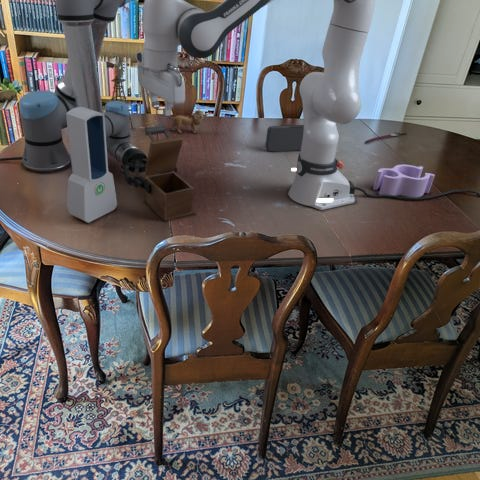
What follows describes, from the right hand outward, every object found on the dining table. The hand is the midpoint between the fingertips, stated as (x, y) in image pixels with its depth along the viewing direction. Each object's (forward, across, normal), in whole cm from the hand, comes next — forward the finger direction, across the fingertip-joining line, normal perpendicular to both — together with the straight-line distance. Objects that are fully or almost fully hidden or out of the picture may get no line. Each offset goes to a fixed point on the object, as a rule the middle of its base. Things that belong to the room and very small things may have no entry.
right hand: (161, 111), depth 130 cm
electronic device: (+28, +2, +21) cm, 35 cm away
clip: (+29, -32, -79) cm, 90 cm away
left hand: (+22, -3, 0) cm, 22 cm away
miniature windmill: (+28, +60, -14) cm, 68 cm away
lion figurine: (+28, +49, -39) cm, 68 cm away
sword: (+29, +5, -120) cm, 123 cm away
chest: (+28, -5, 0) cm, 29 cm away
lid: (+13, -2, 0) cm, 13 cm away
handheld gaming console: (+28, +14, -68) cm, 75 cm away
